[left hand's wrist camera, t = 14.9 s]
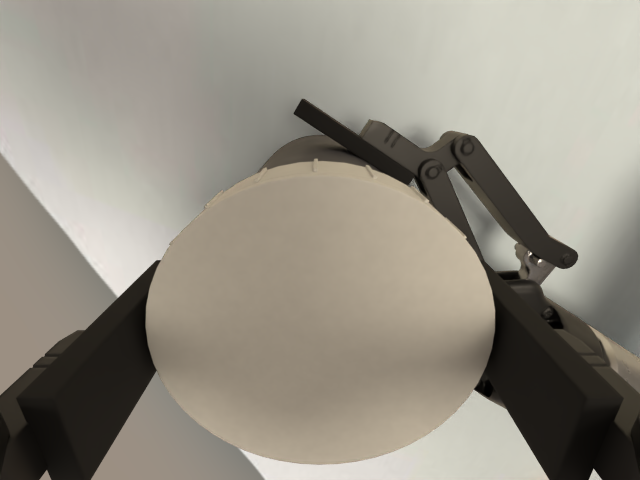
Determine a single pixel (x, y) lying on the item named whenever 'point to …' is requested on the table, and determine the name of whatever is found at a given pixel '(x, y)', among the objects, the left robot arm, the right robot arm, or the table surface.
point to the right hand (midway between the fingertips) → (250, 191)
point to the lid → (320, 315)
